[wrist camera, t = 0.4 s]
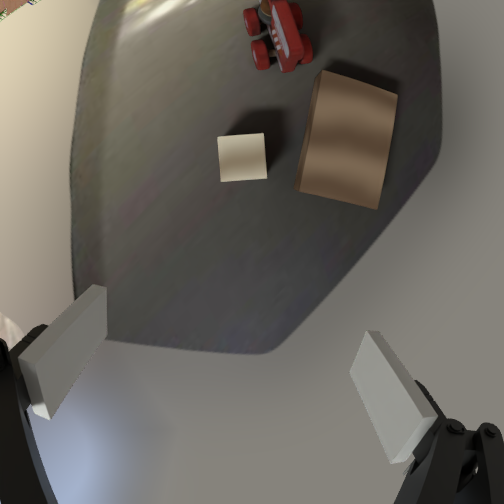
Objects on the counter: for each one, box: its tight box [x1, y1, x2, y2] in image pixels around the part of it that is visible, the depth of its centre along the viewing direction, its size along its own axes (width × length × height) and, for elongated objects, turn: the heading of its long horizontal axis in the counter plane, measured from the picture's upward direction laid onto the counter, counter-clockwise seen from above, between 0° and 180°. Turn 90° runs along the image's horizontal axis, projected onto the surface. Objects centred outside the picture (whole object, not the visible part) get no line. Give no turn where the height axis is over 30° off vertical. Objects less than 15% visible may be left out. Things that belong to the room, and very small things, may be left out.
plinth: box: [294, 70, 398, 210], centre depth 35 cm, size 15×10×4 cm, turn 169°
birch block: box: [217, 133, 267, 182], centre depth 35 cm, size 5×5×5 cm
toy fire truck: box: [243, 0, 313, 73], centre depth 28 cm, size 7×12×10 cm, turn 12°
